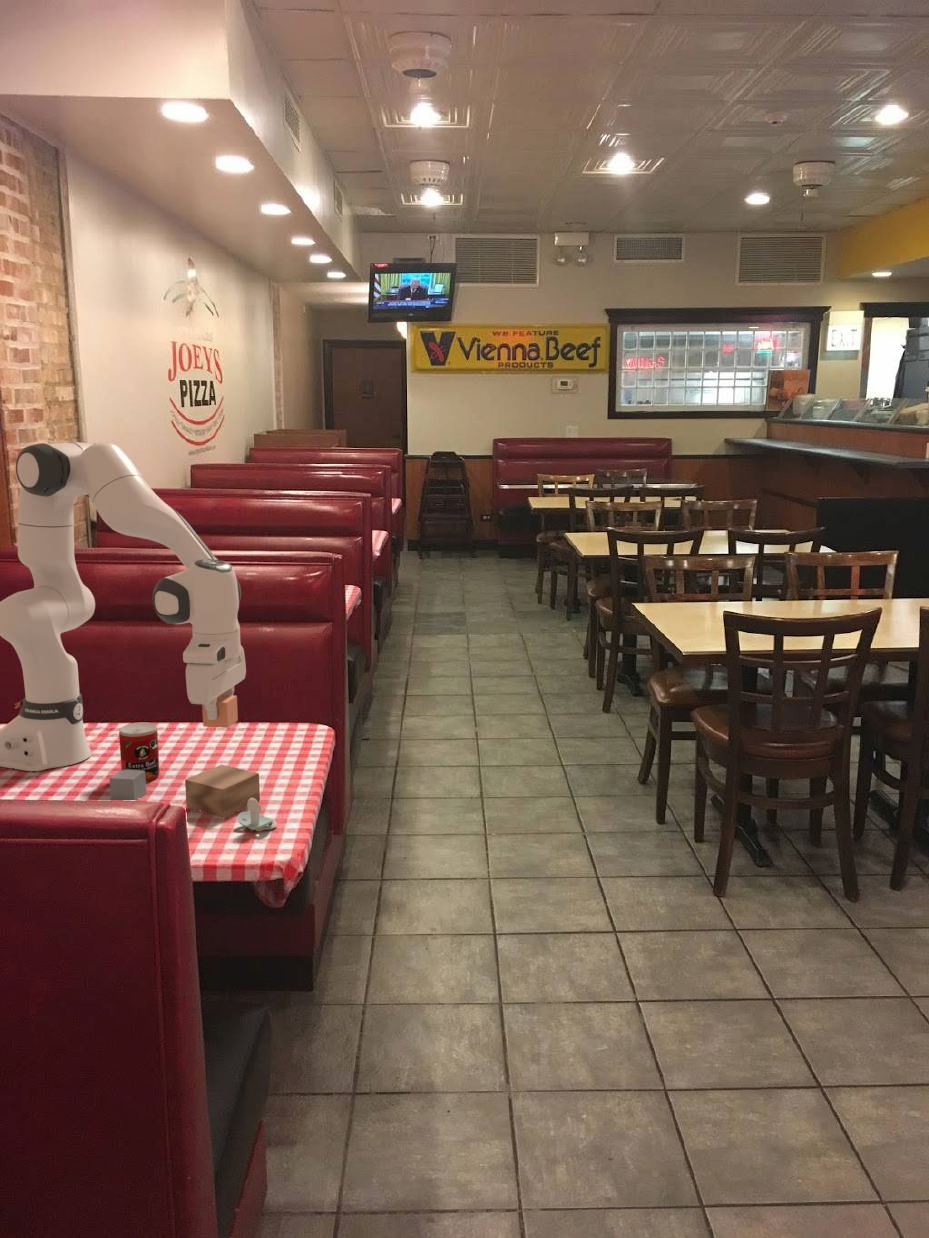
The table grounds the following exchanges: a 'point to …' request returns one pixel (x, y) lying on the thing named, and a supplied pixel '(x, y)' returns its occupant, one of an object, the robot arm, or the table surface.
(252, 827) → the pacifier
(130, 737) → the canned food
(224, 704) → the terracotta cube
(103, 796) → the table surface
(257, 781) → the walnut block
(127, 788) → the gray metal cube
